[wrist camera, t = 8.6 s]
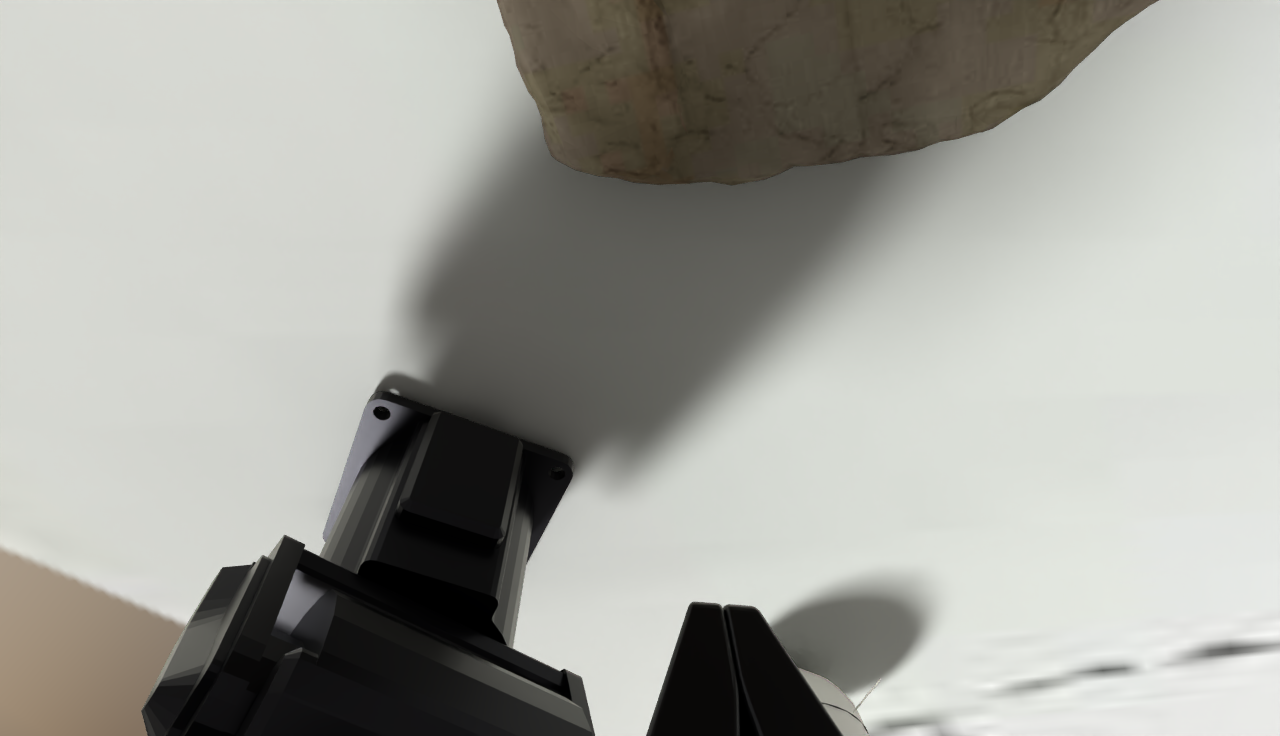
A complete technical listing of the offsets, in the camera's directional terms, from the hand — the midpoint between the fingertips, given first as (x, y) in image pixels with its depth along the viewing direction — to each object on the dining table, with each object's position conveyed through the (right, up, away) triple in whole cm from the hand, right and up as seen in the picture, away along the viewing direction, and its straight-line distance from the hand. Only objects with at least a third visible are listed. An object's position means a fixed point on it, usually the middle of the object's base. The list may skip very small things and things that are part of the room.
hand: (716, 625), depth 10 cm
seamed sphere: (+5, -8, +21) cm, 23 cm away
